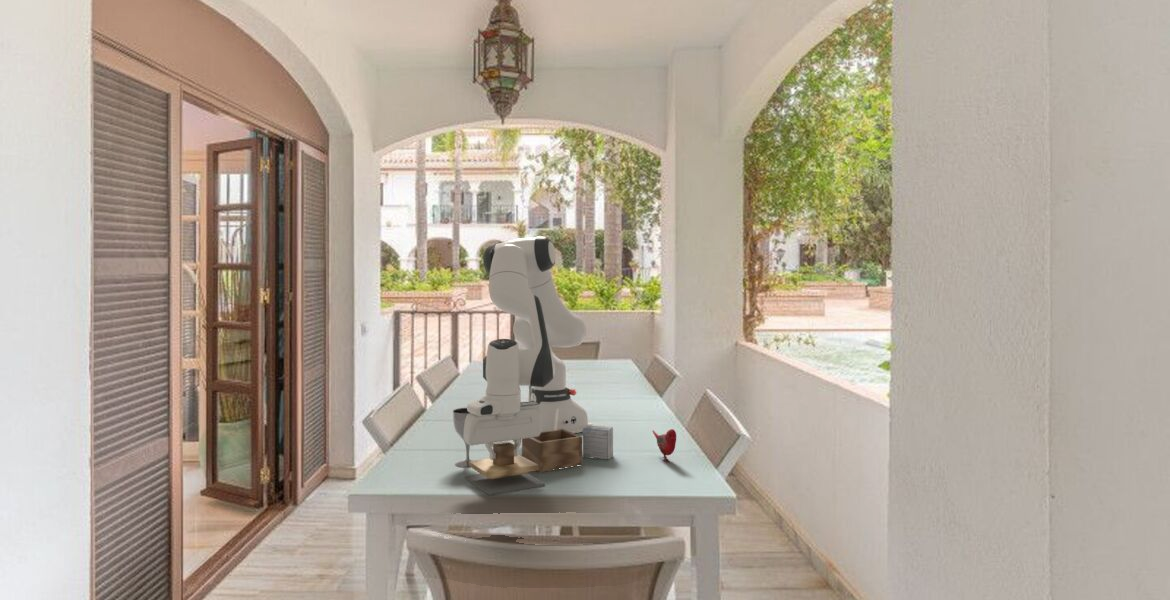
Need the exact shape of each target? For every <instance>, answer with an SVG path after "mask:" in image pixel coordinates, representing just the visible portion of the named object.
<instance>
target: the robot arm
mask: <svg viewBox="0 0 1170 600" xmlns="http://www.w3.org/2000/svg"><path fill="white" fill-rule="evenodd" d="M556 255H557V252H556V247H555V246H554V243H553V241H552V239H550V238H549V237H547V236H535V237H521V238H516V239H512V240H507V241H503V242H500V243H498V242H497V243H493V244H490V245H488V246H487V247H486V248H485V249H484V251H483V256H482V257H483V258H482V261H483V268H484V270H485V272H486V274H487V275H489V277H488V278H489V280H488V291H489V292H488V293H489V298H490V300H491V302H492V303H493V305H494V306H495V307H496V308H498V309H499V310H501V311H503V312H505V313H506V314H510V315H513V316H515V317H517V318H516V319H515V320H514V323H513V327H512V331H513V332H512V333H513V335H514V338H515V340H516V341H515V340H513V339H510V338H500V339H499V338H497V339H494V340H491V341H490V342H489V343H488V345H487V350H486V356H485V357H483V359H482V378H483V380H485V381H486V382H487V383H486V385H487V386H486V389H485V396H483V397H481V398H479V399H477V400H473V401H472V402H470V403H468V404H467V405H466V408H467V410H468V412H470V414H468V415H467V417H466V419H465V424H464V441H465V442H466V443H467V444H469V445H470V446H476V445H477V446H478V445H484V446H485V447H486V449H487V451H488V453H489V458H490V459H491V460H496V459H497V458H498V457H497V456H498V453H497V452H495V451H493V446H494V443H497V442H505V441H508V442H510V441H512V442H513V443H514V457H517V454H518V450H519V449H520V446H522V439H524V438H532V437H538V436H539V435H540V434H541V432H544V431H552V430H559V429H564V430H566V431H569V432H571V433H574V434H578V433H583V428H584V427H586V426H588V425H593V426H595V424H594V423H592V422H590V421H589V419H588V414H587V411H586V409H585V408H584V407H583V406H582V405H580V404H579V403H578V402H577V401H575V400H573V398H571V396H576V395H577V390H576V389H574V388H568V387H566V385H567V366H566V364H565V362H564V361H563V360H562V359H560V358H559V357H557V356H556V354H555V352H553V347H554V348H571V347H576V346H577V347H578V346H580V345H581V344H582V343H583V341H585V338H586V335H587V328H586V324H585V322H584V320H583V318H582V317H580V316H579V315H577V314H575V313H574V312H572V311H571V310H570V309H569V308H568V307H567V306H566V304H564V302H563V301H562V299H561V298H560V296H559V294H558V293H557V289H556V286H555V283H554V280H553V277H552V276H553V275H552V273H551V270H550V269H552V268H553V267H554V265H555V264H556V258H557V257H556ZM519 344H520V345H521V346H522V347H523V348H524V349H520V348H519ZM520 386H521V387H522V386H523V387H525V386H526V387H528V386H529V387H531V389H530V391H531V393H530V401H522V399H521V397H522V395H521V391H522V390H521V387H520ZM464 441H463V442H464ZM465 442H464V443H465Z"/></svg>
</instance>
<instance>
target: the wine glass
mask: <svg viewBox="0 0 1170 600" xmlns="http://www.w3.org/2000/svg"><path fill="white" fill-rule="evenodd" d="M468 414H470V412H468V410H467V407H460V408H455V409H453V410H452V421H453V426H454V429H455V430H454V431H455V432H456V433H457V435H458V436H459V438H461V439H462V441H463V442H464V445H465V451H466V452H465V454H466V457H465V460H460V461H457V462H455V463H454V466H455V467H458V468H463V469H464V468H471V467H470V466H469V461H475V460H474V459H473V460H471V459H470V448H471V445H469V444H467V443H466V442H465V441H464V424H465V419H466V417H467V415H468Z"/></svg>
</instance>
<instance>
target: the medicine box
mask: <svg viewBox="0 0 1170 600" xmlns="http://www.w3.org/2000/svg"><path fill="white" fill-rule="evenodd" d="M593 425H594V424H593ZM593 425H588V426H586V427H584V428H583V432H582V458H584V457H593V458H592V459H596V458H601V459H600V460H607V459H609V460H610V459H611V458H612V457H613V456H614V427H613V426H605V425H594V426H593Z"/></svg>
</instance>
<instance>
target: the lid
mask: <svg viewBox="0 0 1170 600" xmlns="http://www.w3.org/2000/svg"><path fill="white" fill-rule="evenodd" d="M492 449H493V451H495V452H497V453H498V456H497V457H498V458H497V459H496V460H491V459H490V457H489V458H482V459H476V460H475V461H469V466H470V467H469V468H471V469H472V470H474V471H476V472H477V473H478V474H482V475H483V476H485V477H486V478H490V479H495V478H501V477H507V476H514V475H520V474H526V473H528V474H530V472H534V471H536V470H539V465H537V464H536V463H534V462H532V461H530V460H528V459H526V458H525V457H523V456H522V454H521V455H520V454H518V453H517V457H514V444H513V443H512V442H510V441H502V442H494V446H493V447H492Z"/></svg>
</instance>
